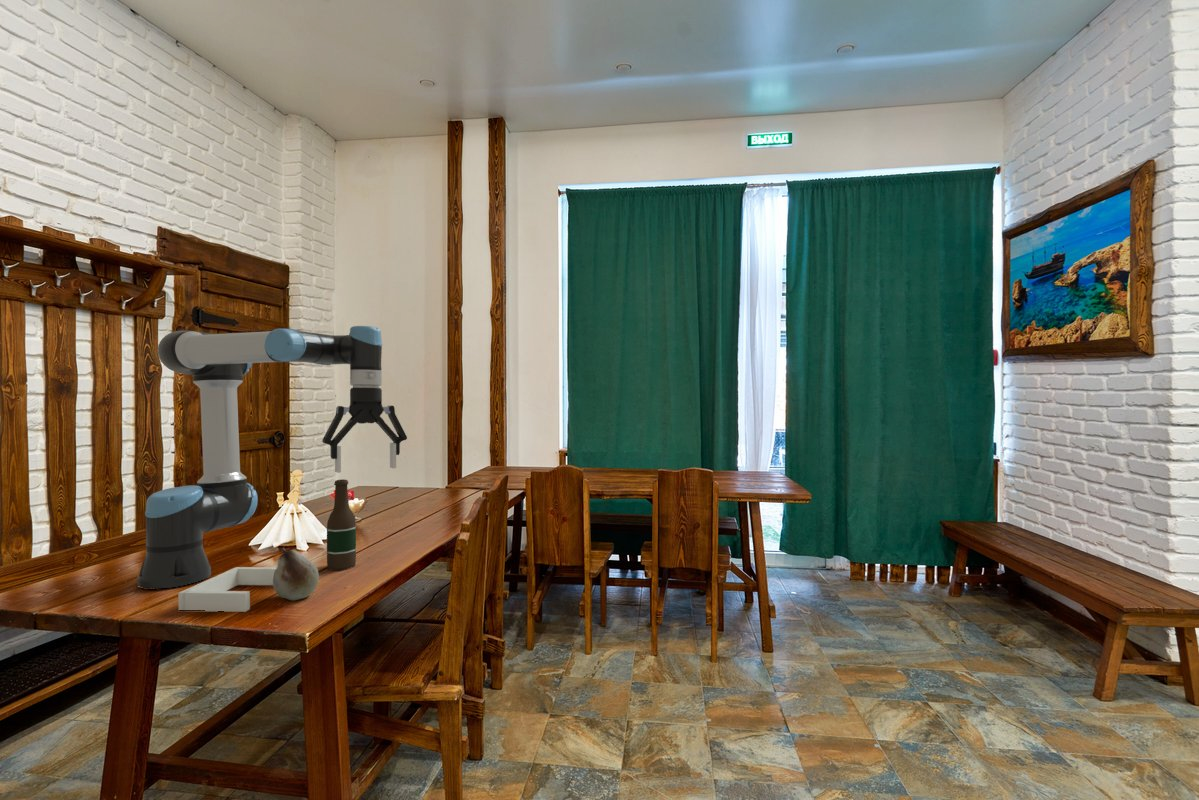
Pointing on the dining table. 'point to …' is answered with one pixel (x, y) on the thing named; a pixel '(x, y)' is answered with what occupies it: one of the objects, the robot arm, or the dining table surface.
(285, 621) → the dining table surface
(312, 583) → the fruit
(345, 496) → the beer bottle
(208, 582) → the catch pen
